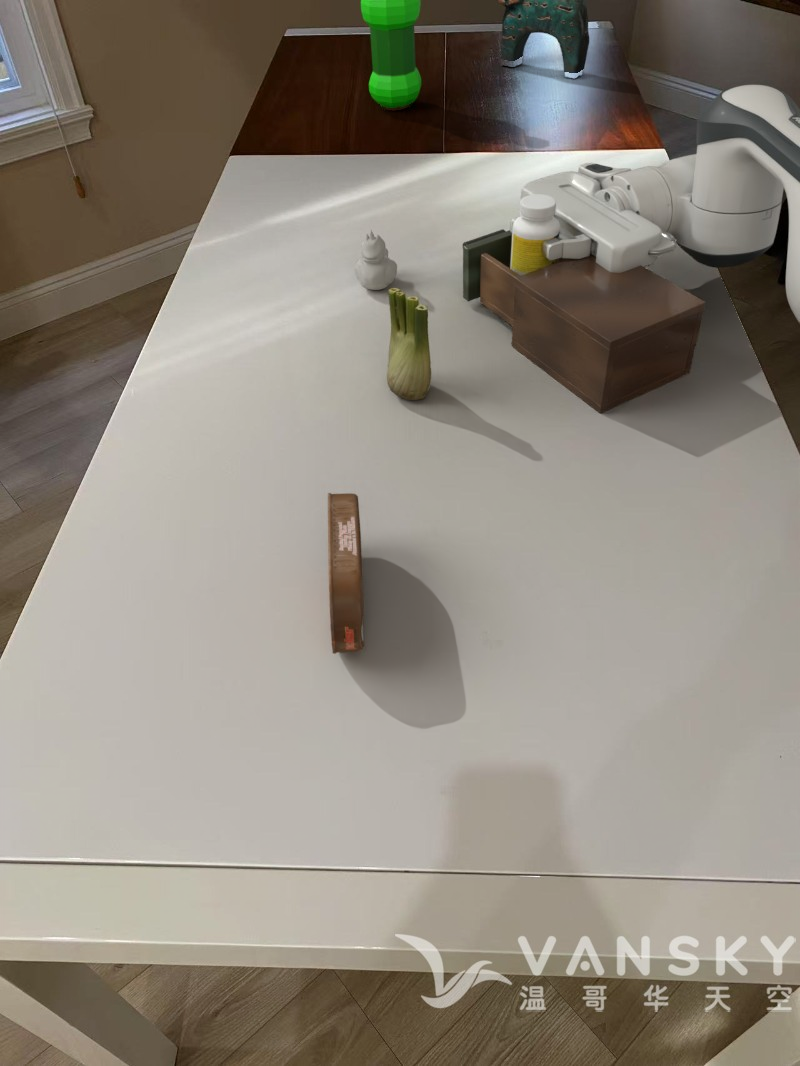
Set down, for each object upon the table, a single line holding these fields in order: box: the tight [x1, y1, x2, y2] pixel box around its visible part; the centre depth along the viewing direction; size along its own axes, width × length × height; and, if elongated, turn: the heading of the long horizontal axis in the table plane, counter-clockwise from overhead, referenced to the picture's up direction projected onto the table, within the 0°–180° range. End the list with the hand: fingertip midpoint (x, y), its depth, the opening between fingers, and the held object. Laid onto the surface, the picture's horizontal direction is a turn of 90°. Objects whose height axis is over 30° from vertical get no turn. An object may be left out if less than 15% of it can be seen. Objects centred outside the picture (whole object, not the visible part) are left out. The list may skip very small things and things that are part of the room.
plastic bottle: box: [360, 0, 422, 108], centre depth 147 cm, size 10×10×25 cm
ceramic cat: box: [496, 0, 590, 73], centre depth 159 cm, size 20×6×20 cm, turn 50°
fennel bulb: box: [386, 287, 432, 401], centre depth 88 cm, size 6×5×12 cm
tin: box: [327, 492, 365, 655], centre depth 68 cm, size 15×3×8 cm, turn 4°
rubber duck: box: [354, 229, 398, 291], centre depth 106 cm, size 5×7×8 cm
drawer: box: [462, 229, 568, 327], centre depth 100 cm, size 19×12×7 cm, turn 31°
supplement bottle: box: [510, 194, 560, 276], centre depth 95 cm, size 5×5×10 cm
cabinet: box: [511, 254, 707, 414], centre depth 91 cm, size 16×13×9 cm
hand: (528, 239), depth 95 cm, fingers closed on supplement bottle, 5 cm apart
